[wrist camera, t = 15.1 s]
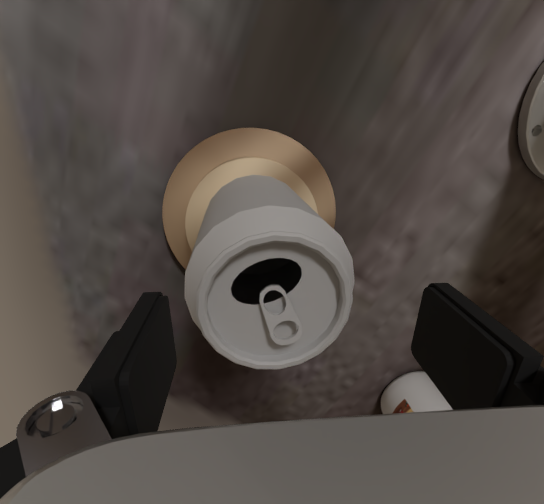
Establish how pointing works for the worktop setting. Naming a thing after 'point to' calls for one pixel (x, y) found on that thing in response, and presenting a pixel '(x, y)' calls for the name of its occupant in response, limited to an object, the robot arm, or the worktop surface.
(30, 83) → the worktop surface
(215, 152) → the plinth
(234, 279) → the can
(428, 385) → the milk bottle
